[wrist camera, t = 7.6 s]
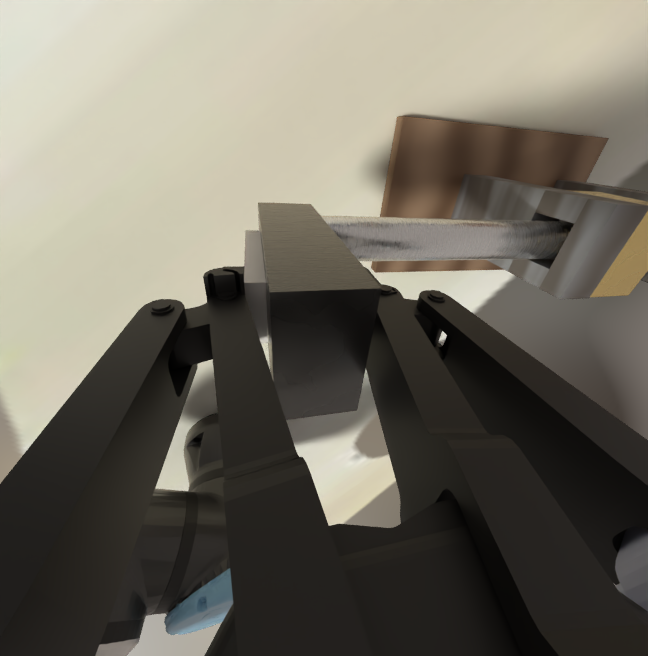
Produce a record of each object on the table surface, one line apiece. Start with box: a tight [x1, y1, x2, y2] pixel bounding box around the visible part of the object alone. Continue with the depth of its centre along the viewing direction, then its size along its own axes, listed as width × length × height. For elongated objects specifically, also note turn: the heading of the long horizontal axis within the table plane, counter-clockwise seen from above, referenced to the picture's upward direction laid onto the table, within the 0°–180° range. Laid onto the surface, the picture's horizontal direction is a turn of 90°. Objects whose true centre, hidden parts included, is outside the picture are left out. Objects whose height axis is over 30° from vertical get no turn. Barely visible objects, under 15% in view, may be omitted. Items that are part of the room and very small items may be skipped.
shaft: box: [258, 203, 574, 420], centre depth 17 cm, size 30×5×14 cm, turn 86°
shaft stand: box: [371, 116, 648, 299], centre depth 28 cm, size 26×16×18 cm, turn 86°
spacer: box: [568, 190, 648, 297], centre depth 25 cm, size 5×7×7 cm
